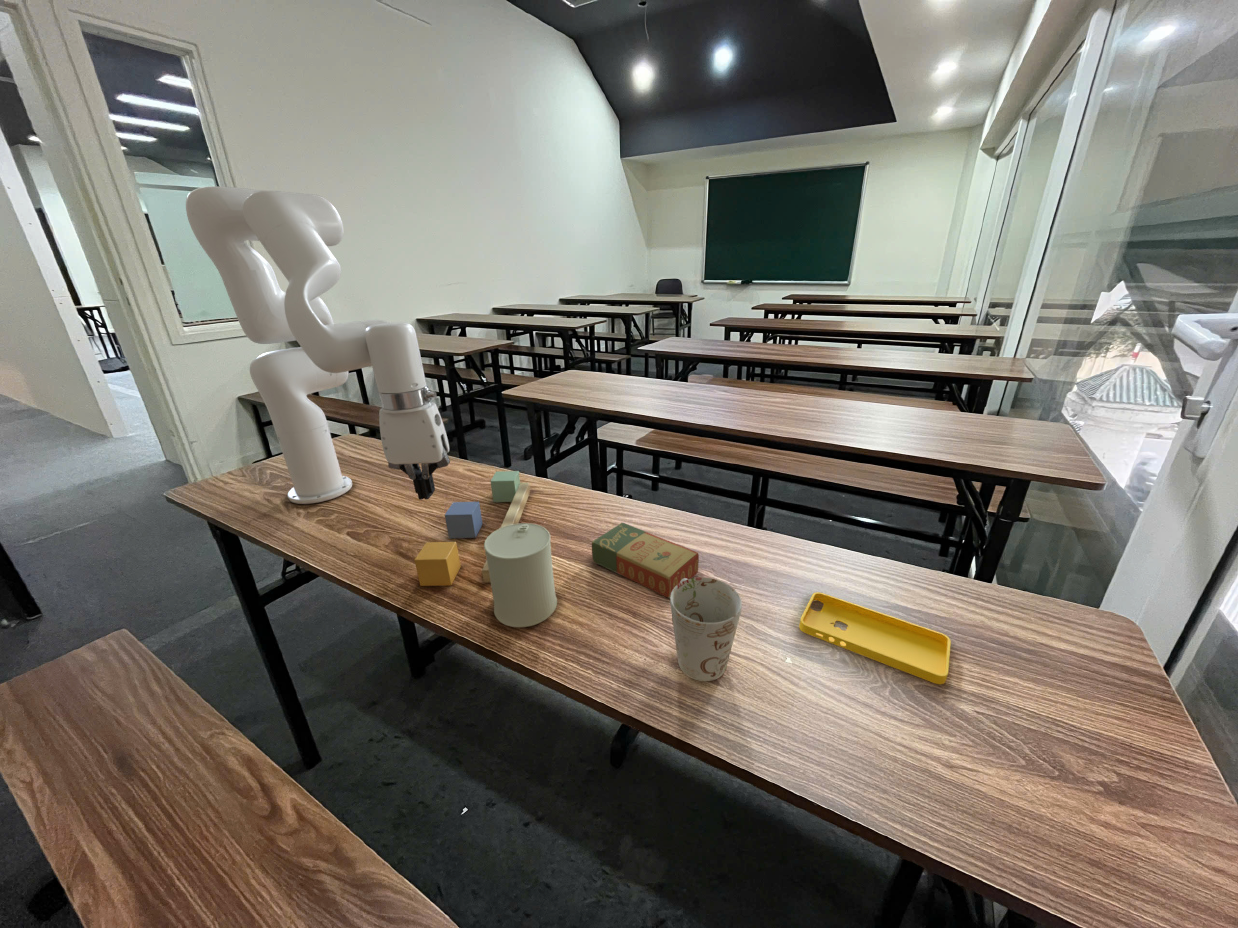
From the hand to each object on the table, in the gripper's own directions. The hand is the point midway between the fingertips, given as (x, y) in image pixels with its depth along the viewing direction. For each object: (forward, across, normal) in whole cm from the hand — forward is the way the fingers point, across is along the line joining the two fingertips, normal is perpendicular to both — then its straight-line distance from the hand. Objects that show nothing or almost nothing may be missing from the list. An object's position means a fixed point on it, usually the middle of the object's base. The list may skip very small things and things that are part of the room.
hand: (426, 495), depth 88 cm
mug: (+9, -45, +31) cm, 55 cm away
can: (+9, -21, +21) cm, 31 cm away
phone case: (+10, -69, +29) cm, 75 cm away
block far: (+8, -11, -14) cm, 20 cm away
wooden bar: (+8, -14, 0) cm, 16 cm away
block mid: (+8, -6, 0) cm, 10 cm away
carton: (+9, -39, +12) cm, 42 cm away
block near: (+8, -6, +14) cm, 17 cm away
